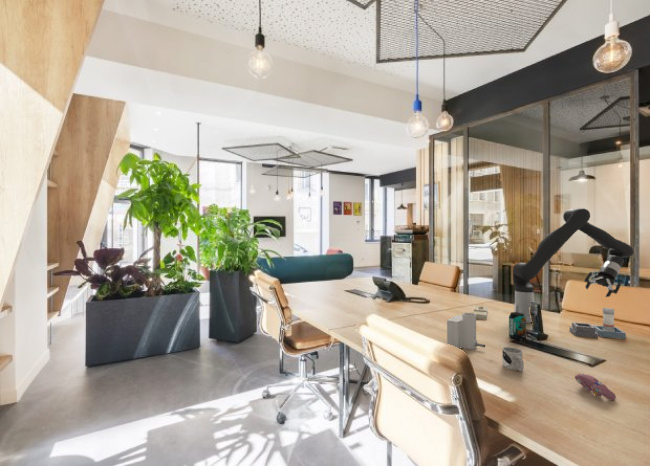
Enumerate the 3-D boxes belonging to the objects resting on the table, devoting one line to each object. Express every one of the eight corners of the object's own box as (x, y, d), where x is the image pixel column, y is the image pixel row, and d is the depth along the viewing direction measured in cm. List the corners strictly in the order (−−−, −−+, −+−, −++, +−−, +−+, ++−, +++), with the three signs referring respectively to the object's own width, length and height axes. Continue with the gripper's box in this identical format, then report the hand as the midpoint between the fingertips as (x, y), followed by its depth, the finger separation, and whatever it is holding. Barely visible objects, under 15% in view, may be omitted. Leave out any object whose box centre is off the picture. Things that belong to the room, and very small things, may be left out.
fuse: (604, 333, 156) (604, 309, 156) (601, 331, 160) (601, 307, 160) (616, 334, 155) (616, 310, 154) (612, 332, 159) (612, 308, 158)
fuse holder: (575, 335, 157) (575, 326, 157) (569, 330, 165) (569, 321, 165) (598, 337, 153) (597, 328, 153) (591, 332, 161) (591, 323, 161)
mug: (499, 363, 126) (499, 346, 126) (516, 363, 126) (516, 346, 126) (513, 375, 116) (513, 356, 116) (531, 375, 116) (531, 356, 116)
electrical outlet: (473, 312, 189) (475, 305, 205) (473, 318, 189) (475, 311, 205) (486, 313, 186) (487, 306, 201) (486, 320, 186) (487, 313, 201)
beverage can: (528, 341, 150) (528, 315, 150) (512, 340, 151) (512, 315, 151) (522, 336, 157) (522, 312, 157) (506, 335, 158) (506, 311, 158)
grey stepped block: (458, 339, 153) (458, 308, 153) (489, 347, 143) (489, 314, 143) (447, 346, 145) (446, 313, 144) (479, 355, 135) (479, 319, 134)
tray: (600, 336, 155) (600, 330, 155) (592, 330, 164) (592, 325, 164) (625, 339, 151) (625, 333, 151) (616, 332, 160) (616, 327, 160)
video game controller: (578, 390, 107) (569, 373, 107) (589, 384, 108) (580, 366, 107) (607, 407, 97) (598, 387, 97) (619, 399, 98) (609, 380, 97)
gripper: (594, 261, 176) (582, 281, 170) (628, 273, 166) (615, 294, 161) (591, 269, 181) (579, 289, 175) (623, 281, 171) (611, 302, 166)
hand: (596, 292), depth 168 cm, fingers open, 8 cm apart
